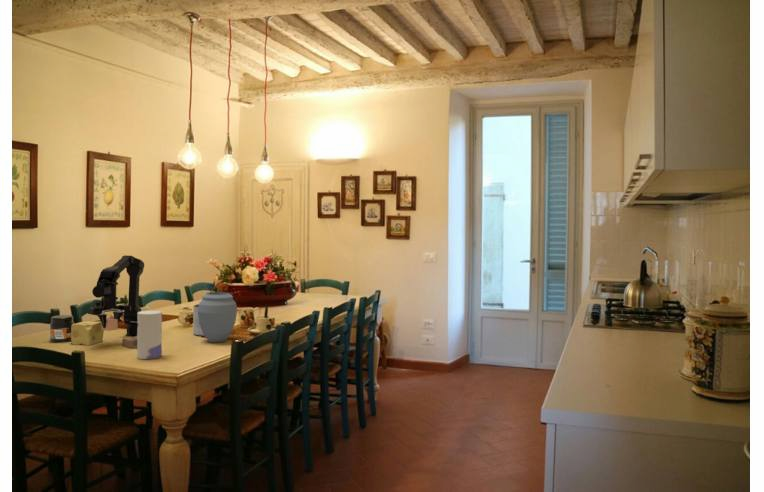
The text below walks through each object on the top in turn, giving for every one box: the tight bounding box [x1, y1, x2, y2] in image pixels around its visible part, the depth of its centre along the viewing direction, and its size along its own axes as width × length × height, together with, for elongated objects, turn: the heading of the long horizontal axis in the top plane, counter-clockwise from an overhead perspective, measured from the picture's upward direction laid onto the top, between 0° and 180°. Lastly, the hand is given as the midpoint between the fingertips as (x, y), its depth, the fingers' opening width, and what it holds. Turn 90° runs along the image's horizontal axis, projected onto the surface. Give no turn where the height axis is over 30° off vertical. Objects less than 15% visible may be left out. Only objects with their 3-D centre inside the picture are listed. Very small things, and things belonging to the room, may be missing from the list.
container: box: [136, 310, 163, 360], centre depth 252 cm, size 10×10×20 cm
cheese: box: [70, 320, 105, 346], centre depth 278 cm, size 10×11×10 cm
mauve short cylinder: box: [121, 336, 137, 350], centre depth 273 cm, size 8×8×4 cm
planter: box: [192, 303, 205, 337], centre depth 306 cm, size 16×16×16 cm
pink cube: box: [102, 317, 119, 332], centre depth 273 cm, size 5×5×5 cm
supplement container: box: [49, 314, 75, 343], centre depth 282 cm, size 10×10×12 cm
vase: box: [197, 291, 238, 343], centre depth 288 cm, size 20×20×24 cm
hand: (109, 327), depth 274 cm, fingers closed on pink cube, 5 cm apart
